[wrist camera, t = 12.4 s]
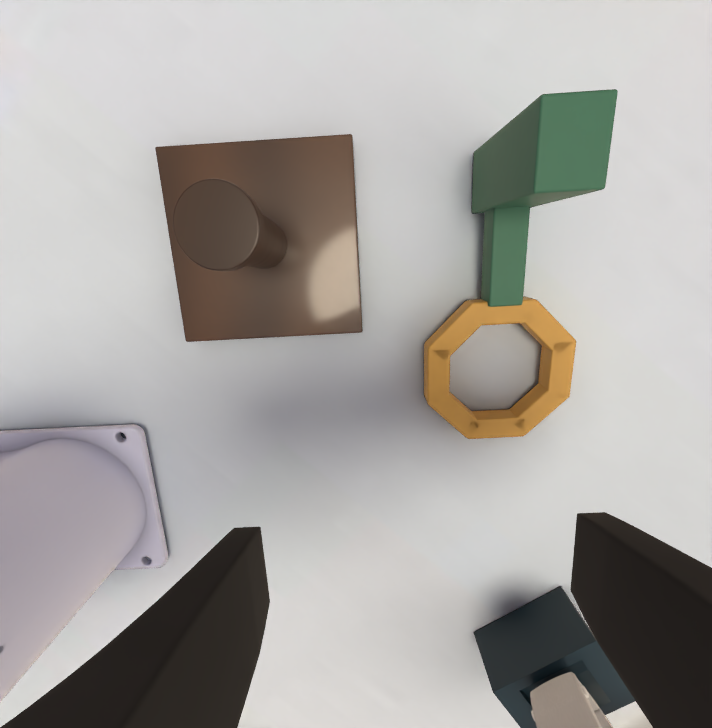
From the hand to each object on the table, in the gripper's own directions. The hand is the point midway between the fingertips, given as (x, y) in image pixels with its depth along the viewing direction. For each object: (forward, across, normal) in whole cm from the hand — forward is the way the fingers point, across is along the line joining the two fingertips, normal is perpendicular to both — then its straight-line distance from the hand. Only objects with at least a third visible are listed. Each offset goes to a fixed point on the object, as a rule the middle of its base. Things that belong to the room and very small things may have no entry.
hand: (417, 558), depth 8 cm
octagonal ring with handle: (+10, -5, -5) cm, 12 cm away
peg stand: (+10, +5, -8) cm, 14 cm away
